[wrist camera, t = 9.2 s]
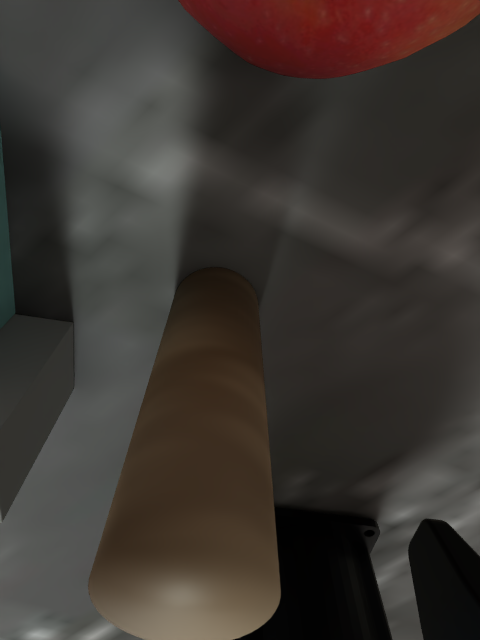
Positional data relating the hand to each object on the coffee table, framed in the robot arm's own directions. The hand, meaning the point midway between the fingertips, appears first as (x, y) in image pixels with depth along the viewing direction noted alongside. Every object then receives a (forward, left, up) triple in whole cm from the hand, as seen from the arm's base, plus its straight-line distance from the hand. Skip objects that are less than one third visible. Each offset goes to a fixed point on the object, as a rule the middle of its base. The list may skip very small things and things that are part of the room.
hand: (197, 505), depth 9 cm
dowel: (0, 0, -8) cm, 8 cm away
